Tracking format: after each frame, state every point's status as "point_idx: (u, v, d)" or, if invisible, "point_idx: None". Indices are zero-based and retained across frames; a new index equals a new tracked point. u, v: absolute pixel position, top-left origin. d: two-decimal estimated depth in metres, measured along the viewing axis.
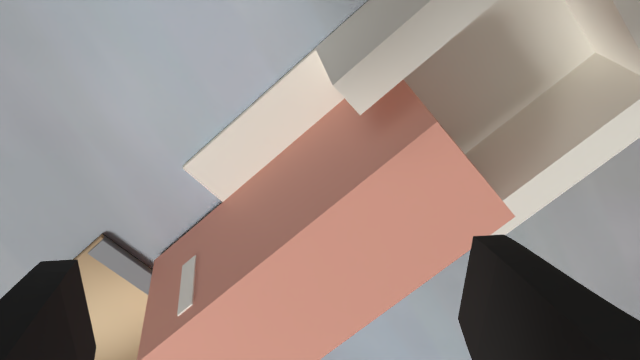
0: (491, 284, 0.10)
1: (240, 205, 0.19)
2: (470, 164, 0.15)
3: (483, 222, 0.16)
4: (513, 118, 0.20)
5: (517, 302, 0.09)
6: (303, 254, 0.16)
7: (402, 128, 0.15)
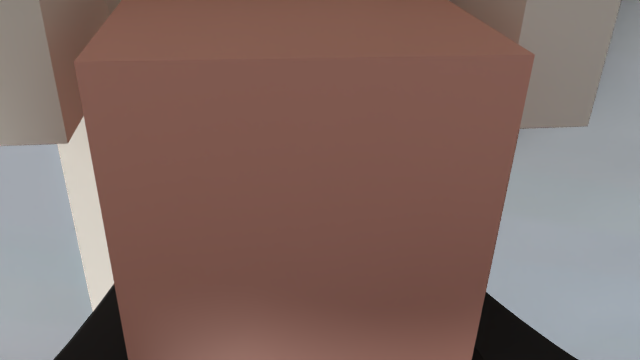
0: None
1: None
2: (276, 62, 0.05)
3: (468, 134, 0.06)
4: None
5: None
6: None
7: None
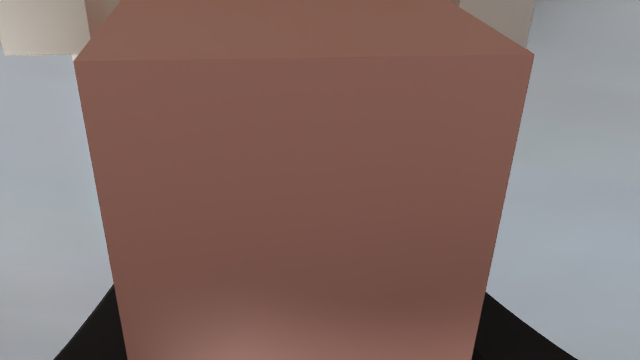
0: None
1: None
2: (275, 62, 0.05)
3: (468, 133, 0.06)
4: None
5: None
6: None
7: None
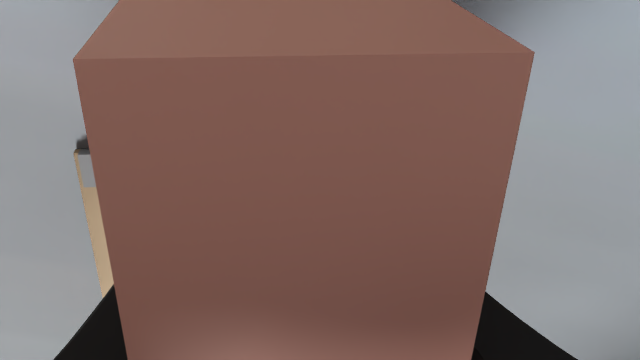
0: None
1: None
2: (275, 60, 0.05)
3: (468, 132, 0.06)
4: None
5: None
6: None
7: None
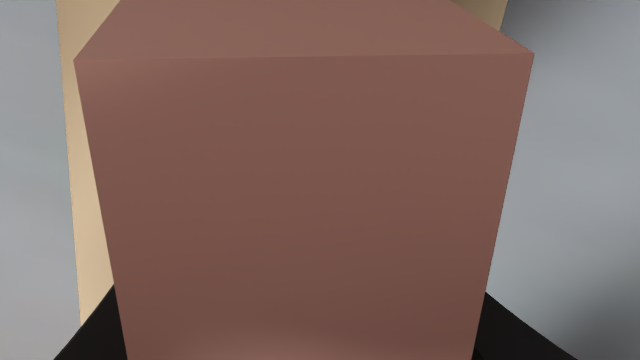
0: None
1: None
2: (275, 61, 0.05)
3: (468, 133, 0.06)
4: None
5: None
6: None
7: None
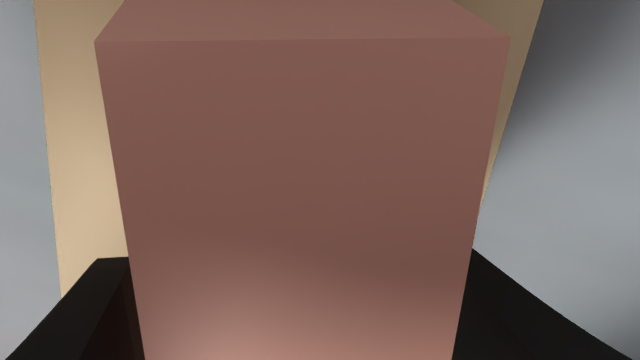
0: None
1: None
2: (275, 43, 0.05)
3: (451, 110, 0.06)
4: None
5: (463, 306, 0.09)
6: None
7: None
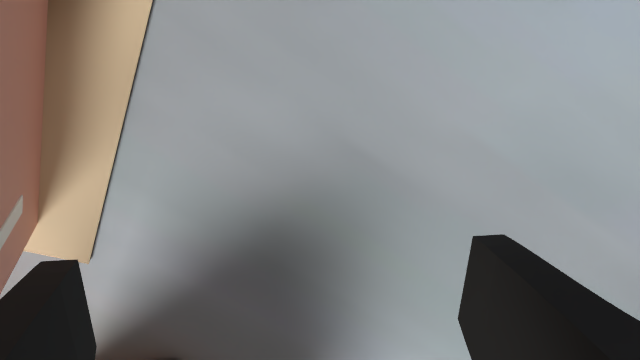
0: (491, 284, 0.10)
1: None
2: None
3: None
4: None
5: (517, 302, 0.09)
6: None
7: None
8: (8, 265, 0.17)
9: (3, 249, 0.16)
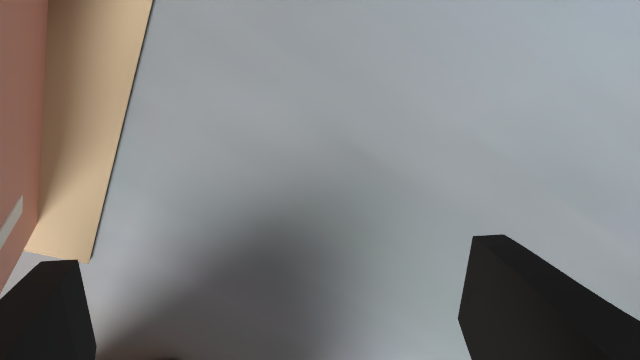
0: (491, 284, 0.10)
1: None
2: None
3: None
4: None
5: (517, 302, 0.09)
6: None
7: None
8: (8, 265, 0.17)
9: (3, 249, 0.16)
